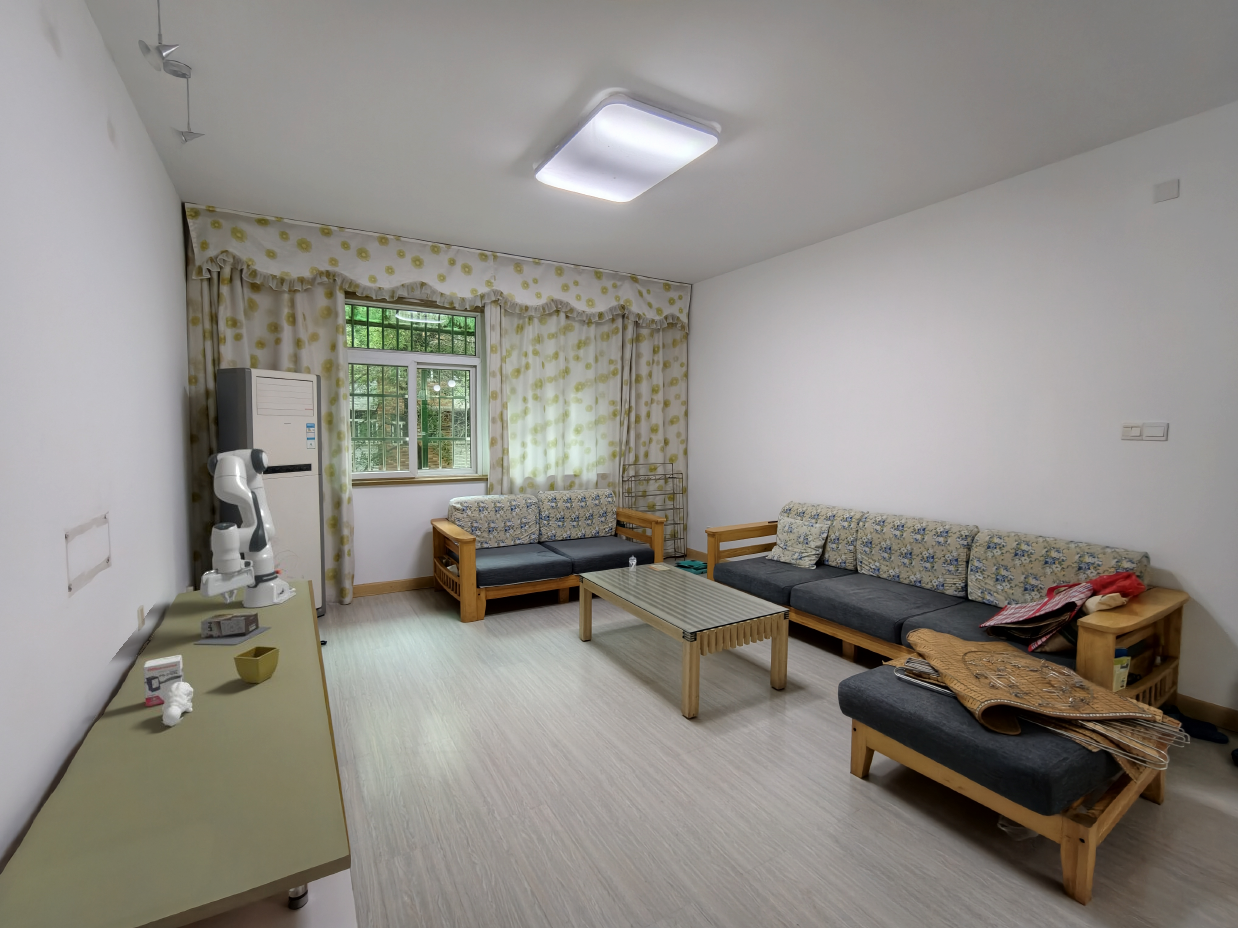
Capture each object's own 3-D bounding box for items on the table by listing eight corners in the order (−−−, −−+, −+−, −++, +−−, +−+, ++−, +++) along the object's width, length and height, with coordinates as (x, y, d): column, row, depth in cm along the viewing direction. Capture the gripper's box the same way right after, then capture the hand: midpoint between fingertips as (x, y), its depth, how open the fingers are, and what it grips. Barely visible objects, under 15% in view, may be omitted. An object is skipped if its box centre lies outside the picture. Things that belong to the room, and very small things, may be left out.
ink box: (145, 707, 160) (142, 666, 159) (147, 700, 164) (144, 660, 163) (183, 698, 164) (180, 659, 164) (184, 692, 168) (182, 653, 168)
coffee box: (201, 638, 213) (245, 636, 214) (200, 621, 212) (244, 619, 213) (217, 630, 222) (259, 628, 223) (216, 613, 222) (258, 612, 222)
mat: (231, 627, 226) (231, 626, 226) (271, 627, 224) (270, 626, 224) (193, 644, 208) (193, 643, 208) (235, 645, 206) (235, 644, 206)
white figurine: (193, 676, 159) (182, 698, 148) (196, 704, 160) (185, 728, 149) (165, 681, 156) (152, 704, 145) (168, 710, 157) (155, 734, 147)
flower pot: (258, 687, 171) (257, 658, 170) (234, 685, 173) (232, 656, 172) (281, 674, 180) (280, 647, 179) (258, 672, 181) (256, 645, 181)
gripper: (208, 573, 203) (211, 610, 204) (256, 560, 223) (258, 594, 224) (194, 572, 205) (196, 610, 205) (243, 559, 225) (245, 594, 225)
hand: (229, 601), depth 215 cm, fingers closed
